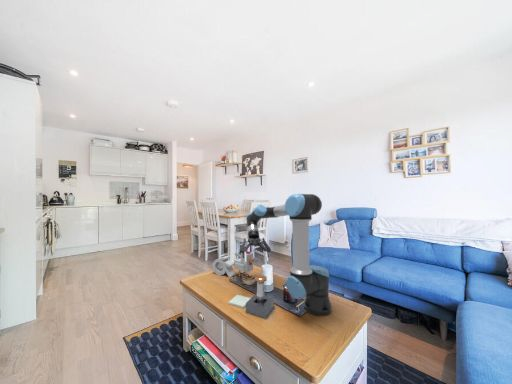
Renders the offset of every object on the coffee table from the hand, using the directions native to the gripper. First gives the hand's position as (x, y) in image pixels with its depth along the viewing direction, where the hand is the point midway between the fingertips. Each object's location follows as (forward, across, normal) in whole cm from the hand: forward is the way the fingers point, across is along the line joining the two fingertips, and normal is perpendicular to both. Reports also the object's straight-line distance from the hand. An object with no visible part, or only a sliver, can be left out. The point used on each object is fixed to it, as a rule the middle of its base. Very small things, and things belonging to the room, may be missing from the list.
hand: (256, 262), depth 128 cm
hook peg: (+25, 0, -6) cm, 26 cm away
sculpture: (-12, +19, -44) cm, 50 cm away
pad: (+18, +10, -13) cm, 24 cm away
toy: (-7, +4, -39) cm, 40 cm away
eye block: (+25, 0, -6) cm, 25 cm away
